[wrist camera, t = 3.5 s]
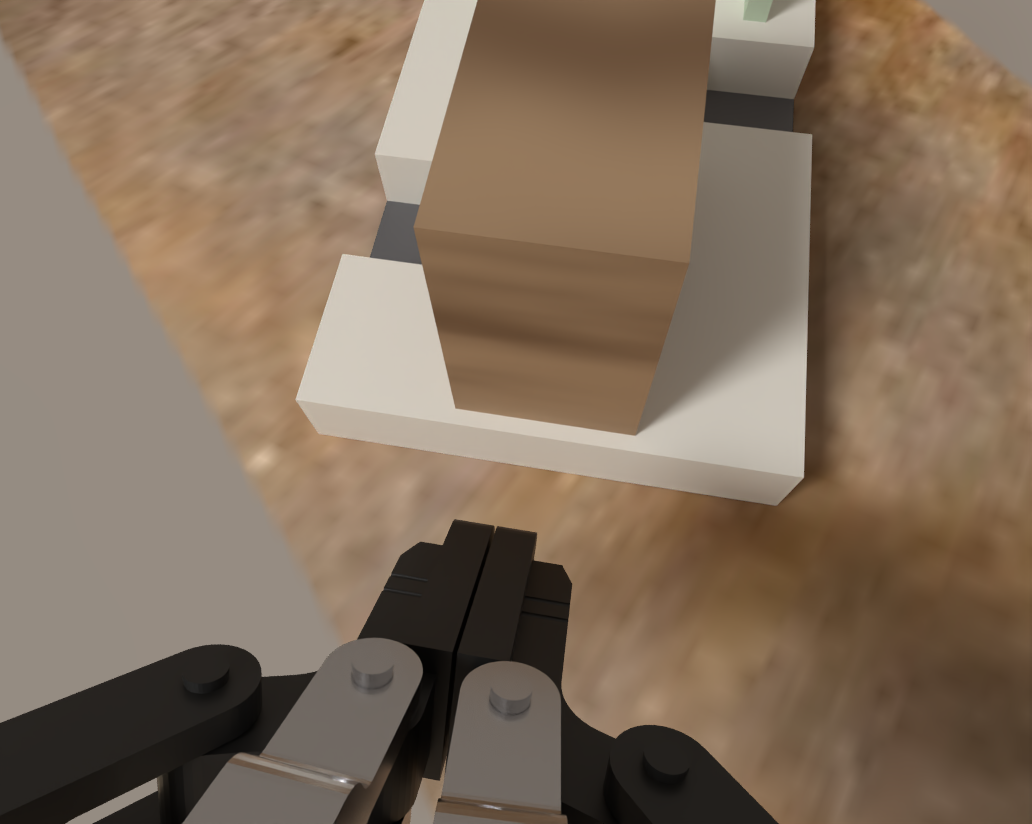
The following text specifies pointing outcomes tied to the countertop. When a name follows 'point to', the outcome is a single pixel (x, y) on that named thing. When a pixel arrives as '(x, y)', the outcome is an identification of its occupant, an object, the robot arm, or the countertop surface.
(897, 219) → the countertop surface
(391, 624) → the robot arm
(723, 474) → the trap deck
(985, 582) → the countertop surface
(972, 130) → the countertop surface
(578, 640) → the countertop surface
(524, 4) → the walnut block
